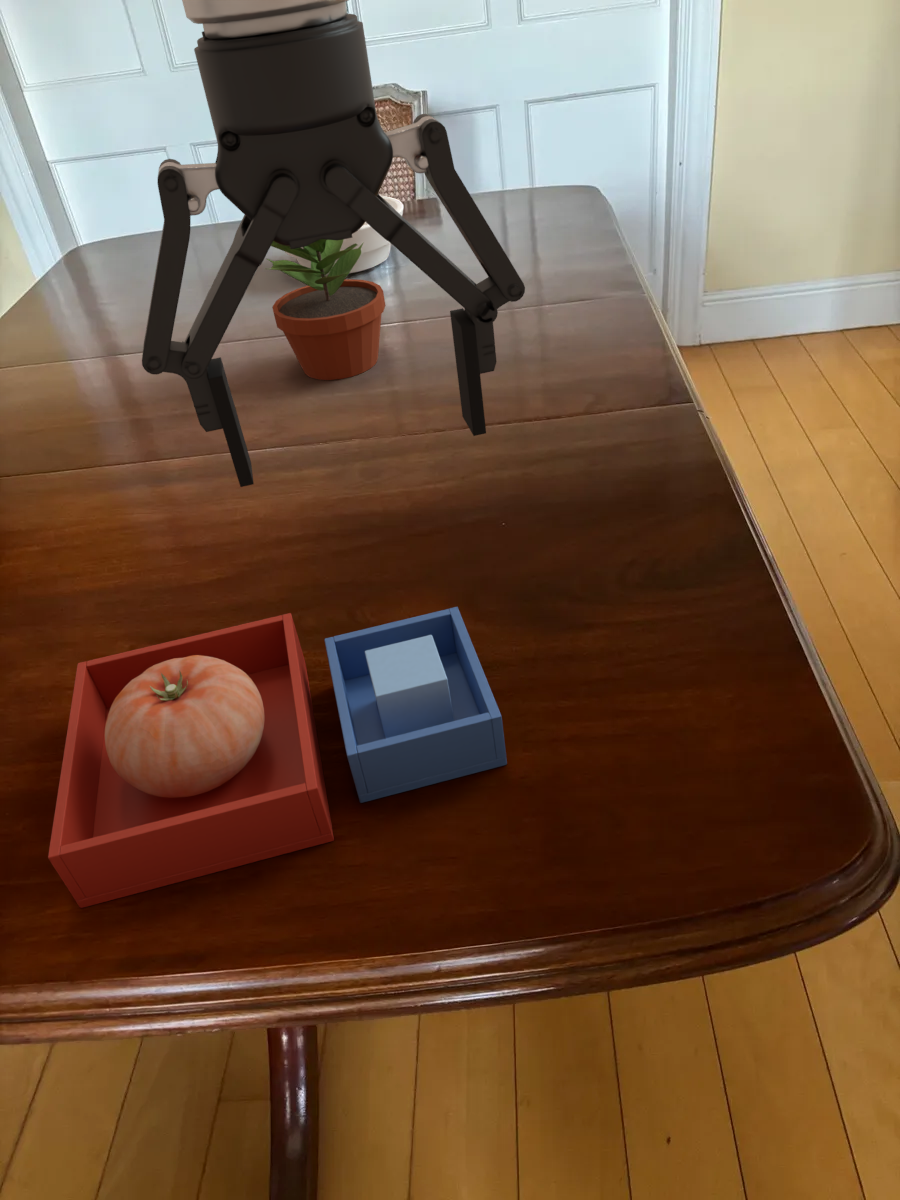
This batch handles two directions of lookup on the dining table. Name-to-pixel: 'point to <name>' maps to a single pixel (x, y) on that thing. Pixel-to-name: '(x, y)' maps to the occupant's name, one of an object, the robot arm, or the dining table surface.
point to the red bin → (205, 821)
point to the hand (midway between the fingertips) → (361, 450)
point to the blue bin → (425, 751)
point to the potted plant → (329, 311)
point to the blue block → (409, 686)
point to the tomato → (184, 726)
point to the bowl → (365, 244)
